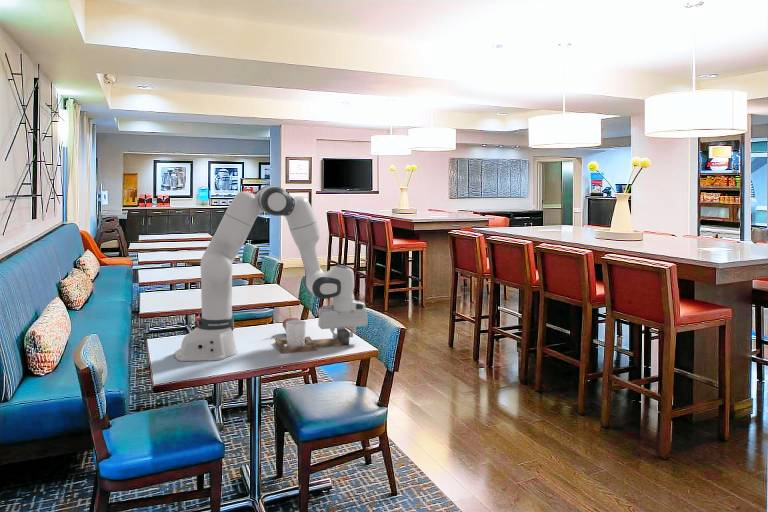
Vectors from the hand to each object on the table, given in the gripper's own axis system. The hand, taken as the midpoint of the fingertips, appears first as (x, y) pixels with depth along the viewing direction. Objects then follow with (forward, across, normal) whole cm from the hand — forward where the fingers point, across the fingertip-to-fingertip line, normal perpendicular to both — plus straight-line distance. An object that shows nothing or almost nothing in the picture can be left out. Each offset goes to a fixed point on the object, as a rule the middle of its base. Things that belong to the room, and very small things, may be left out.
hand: (342, 337), depth 237 cm
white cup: (+2, -20, 0) cm, 20 cm away
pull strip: (+2, -12, 0) cm, 12 cm away
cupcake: (+2, -18, +18) cm, 25 cm away
